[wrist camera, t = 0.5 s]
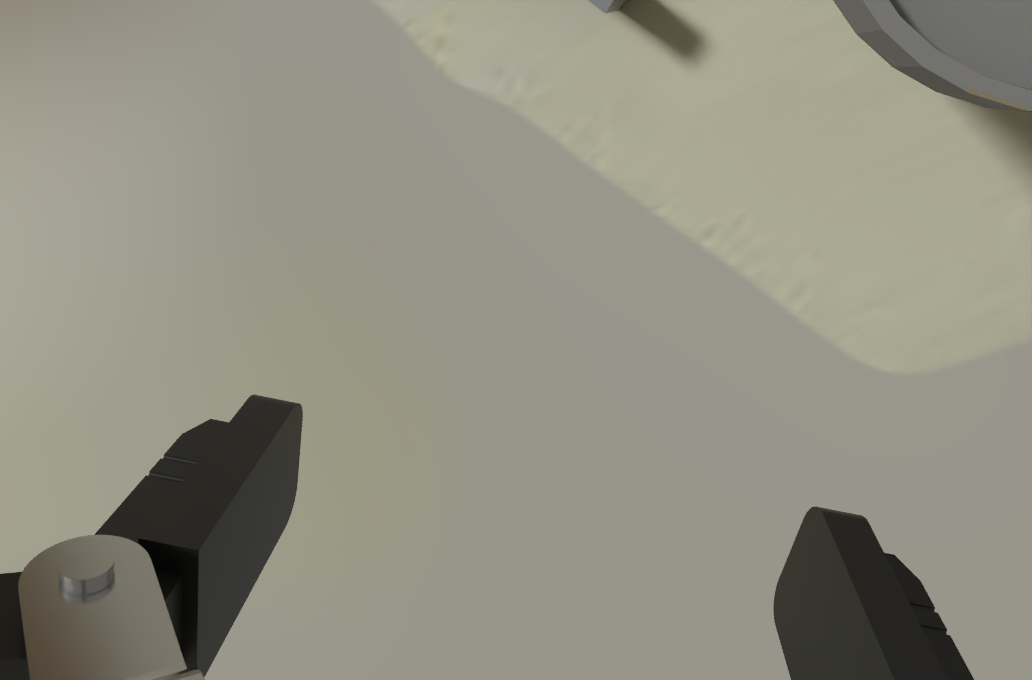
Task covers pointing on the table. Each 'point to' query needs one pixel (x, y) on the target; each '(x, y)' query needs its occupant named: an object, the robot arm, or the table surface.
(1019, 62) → the reusable coffee cup
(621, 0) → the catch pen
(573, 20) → the table surface
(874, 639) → the robot arm
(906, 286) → the table surface
